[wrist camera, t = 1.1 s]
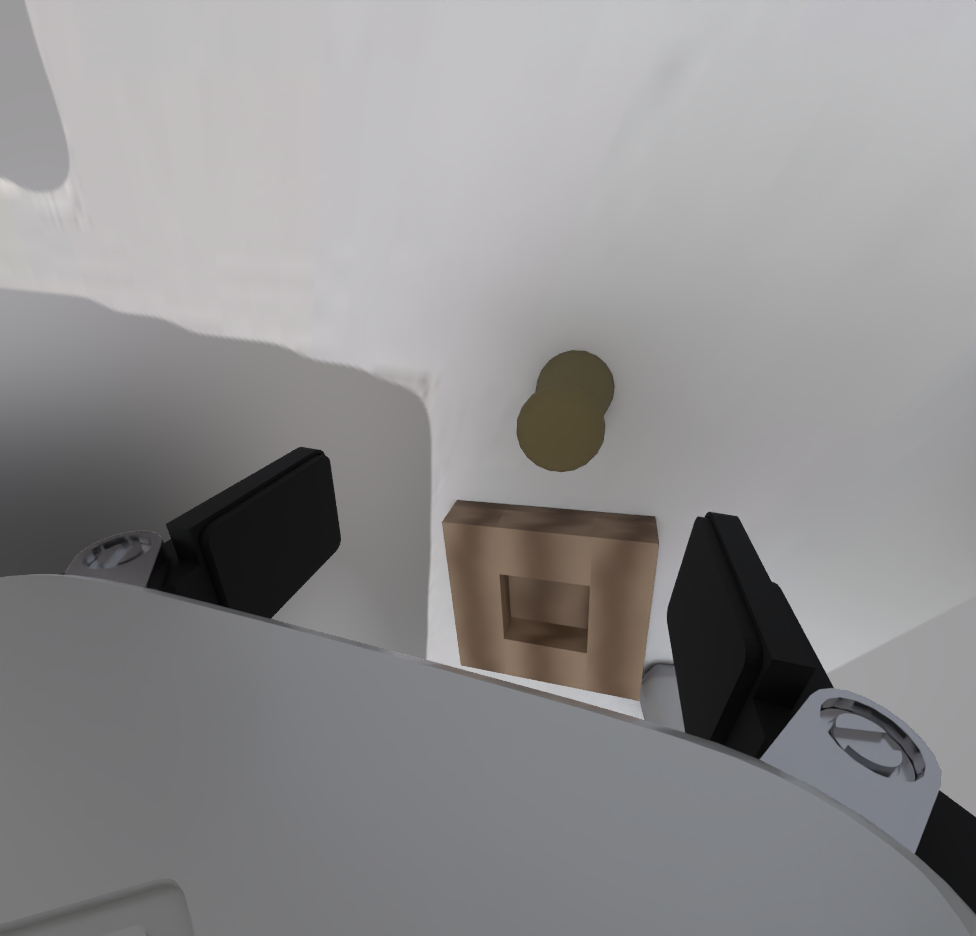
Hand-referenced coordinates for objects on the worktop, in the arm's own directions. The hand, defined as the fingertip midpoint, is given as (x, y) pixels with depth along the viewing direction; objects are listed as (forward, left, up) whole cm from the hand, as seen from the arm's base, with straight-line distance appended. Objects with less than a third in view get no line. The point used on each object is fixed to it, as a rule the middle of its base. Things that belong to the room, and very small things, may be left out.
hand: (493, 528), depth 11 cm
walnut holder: (+2, +23, -24) cm, 33 cm away
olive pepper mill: (0, +3, -25) cm, 25 cm away
